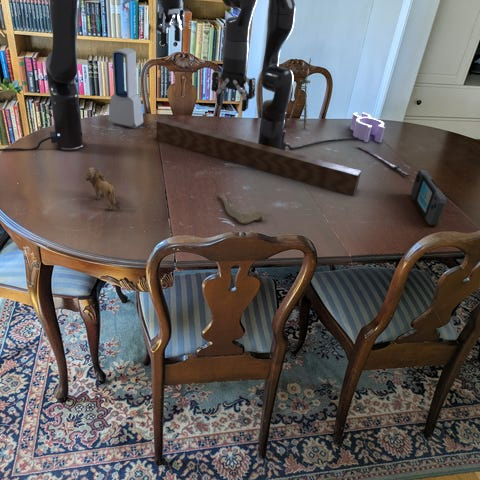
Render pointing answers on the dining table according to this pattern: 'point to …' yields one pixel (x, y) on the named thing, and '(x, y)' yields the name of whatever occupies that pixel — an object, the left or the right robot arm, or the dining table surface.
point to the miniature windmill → (301, 95)
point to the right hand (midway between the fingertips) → (231, 108)
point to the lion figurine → (101, 186)
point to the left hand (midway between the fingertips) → (171, 42)
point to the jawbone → (239, 215)
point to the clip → (367, 127)
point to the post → (260, 156)
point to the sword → (386, 162)
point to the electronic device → (125, 102)
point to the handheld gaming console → (428, 197)
